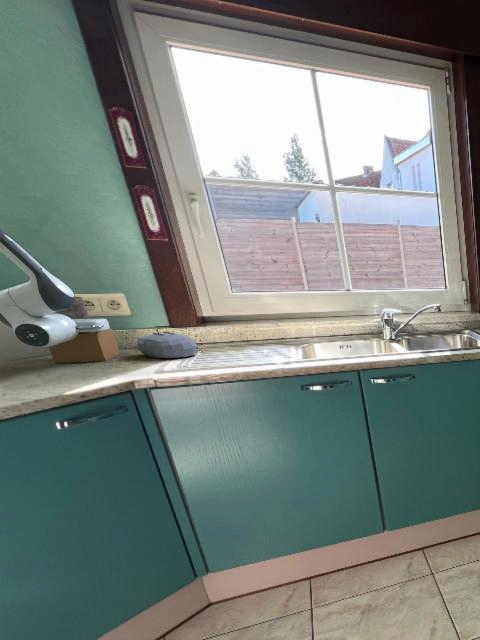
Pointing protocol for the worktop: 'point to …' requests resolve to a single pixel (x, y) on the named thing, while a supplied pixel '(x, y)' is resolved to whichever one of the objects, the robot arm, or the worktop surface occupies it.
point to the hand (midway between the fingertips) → (77, 322)
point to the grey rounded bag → (167, 345)
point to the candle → (77, 311)
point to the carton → (86, 348)
